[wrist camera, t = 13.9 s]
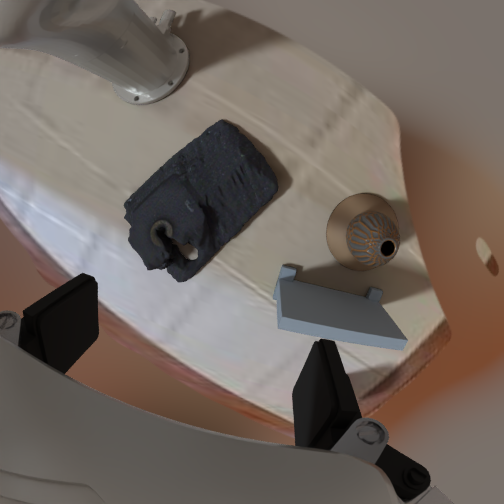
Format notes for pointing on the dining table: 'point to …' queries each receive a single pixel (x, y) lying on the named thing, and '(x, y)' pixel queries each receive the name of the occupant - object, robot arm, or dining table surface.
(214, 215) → the dark slate chunk
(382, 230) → the vase
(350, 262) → the coaster
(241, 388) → the dining table surface
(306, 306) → the screen
